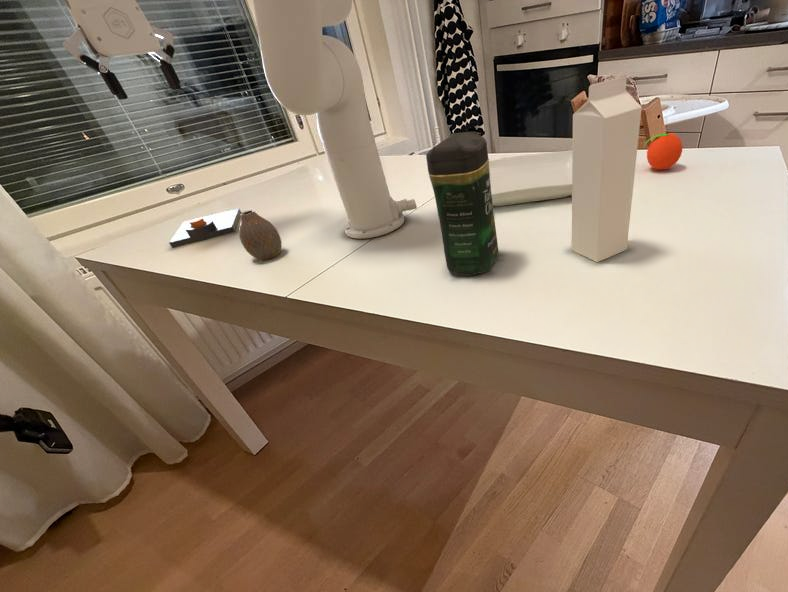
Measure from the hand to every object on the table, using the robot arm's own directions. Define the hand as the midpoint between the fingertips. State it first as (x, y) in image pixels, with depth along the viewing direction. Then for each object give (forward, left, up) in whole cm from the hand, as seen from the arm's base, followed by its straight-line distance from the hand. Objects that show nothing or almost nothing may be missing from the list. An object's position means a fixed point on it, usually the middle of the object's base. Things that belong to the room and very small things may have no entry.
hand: (151, 94), depth 75 cm
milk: (-62, +58, -28) cm, 90 cm away
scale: (+6, -9, -28) cm, 30 cm away
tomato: (-94, +33, -28) cm, 104 cm away
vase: (-10, +21, -28) cm, 37 cm away
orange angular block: (+6, -3, -26) cm, 26 cm away
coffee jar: (-44, +50, -28) cm, 72 cm away
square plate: (-67, +22, -28) cm, 76 cm away
